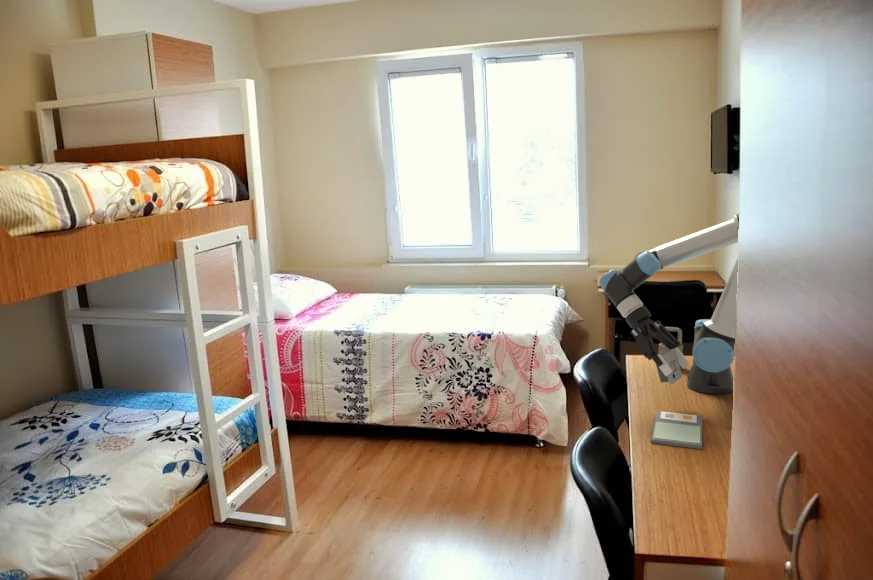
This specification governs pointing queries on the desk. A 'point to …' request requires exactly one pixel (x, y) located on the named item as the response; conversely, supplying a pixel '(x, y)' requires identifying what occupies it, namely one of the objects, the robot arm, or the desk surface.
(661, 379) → the electrical switch
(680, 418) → the switch plate
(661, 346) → the padlock
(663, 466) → the desk surface
